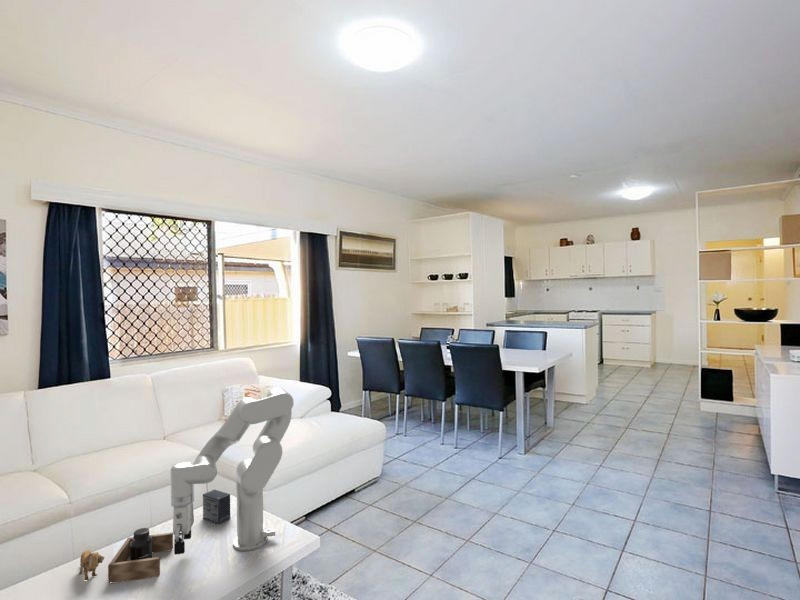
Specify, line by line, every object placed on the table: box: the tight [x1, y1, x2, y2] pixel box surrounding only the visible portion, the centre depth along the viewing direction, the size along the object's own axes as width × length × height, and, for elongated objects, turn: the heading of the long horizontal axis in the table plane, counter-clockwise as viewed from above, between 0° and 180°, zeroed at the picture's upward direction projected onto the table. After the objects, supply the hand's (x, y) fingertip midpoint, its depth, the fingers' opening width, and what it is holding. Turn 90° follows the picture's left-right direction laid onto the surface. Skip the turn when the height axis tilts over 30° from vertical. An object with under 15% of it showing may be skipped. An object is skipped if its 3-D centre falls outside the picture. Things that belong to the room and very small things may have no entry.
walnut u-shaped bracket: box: [107, 531, 174, 584], centre depth 156 cm, size 15×17×6 cm
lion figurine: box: [78, 549, 105, 581], centre depth 151 cm, size 15×5×9 cm, turn 55°
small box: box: [202, 489, 231, 525], centre depth 189 cm, size 11×6×10 cm, turn 60°
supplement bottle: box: [129, 527, 153, 561], centre depth 156 cm, size 7×7×12 cm
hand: (183, 545), depth 159 cm, fingers open, 9 cm apart
